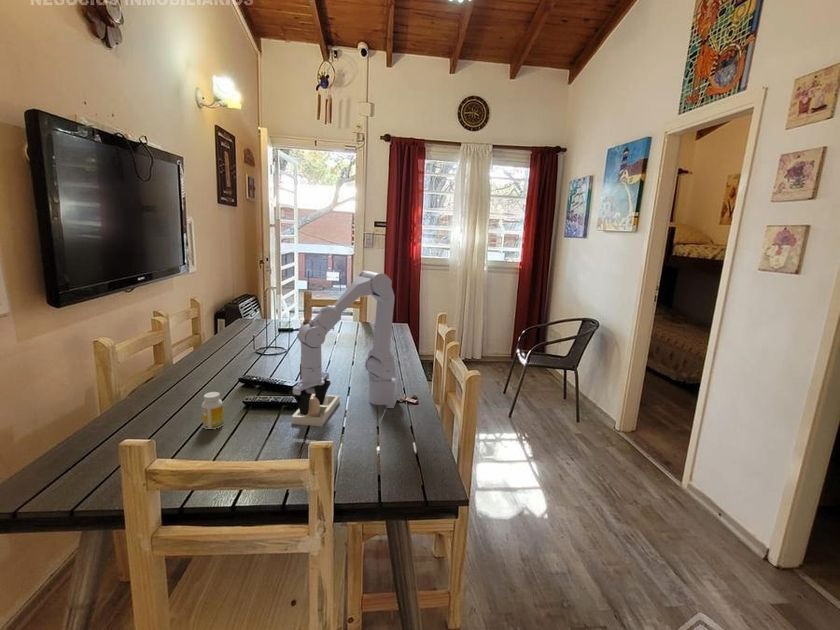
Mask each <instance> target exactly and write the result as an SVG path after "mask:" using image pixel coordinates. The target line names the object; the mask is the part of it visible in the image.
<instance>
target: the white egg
mask: <svg viewBox="0 0 840 630" xmlns="http://www.w3.org/2000/svg"><path fill="white" fill-rule="evenodd" d="M327 395H328V394H326V395H325V399H324V403H323V405H325V406H326V405H327V404H328V396H327Z"/></svg>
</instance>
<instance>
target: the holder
mask: <svg viewBox="0 0 840 630" xmlns="http://www.w3.org/2000/svg"><path fill="white" fill-rule="evenodd" d="M311 394H312V395H311V397H315V393H311ZM326 395H327V396H328V404H327V405H326V406H325V405H320V417H310V416H305V415H303V414H301V413H300V410H299V408H298V409H296V411H295V412H294V413H293V414H292V415H291V424H292V425H300V426H301V425H302V426H311V427H312V426H313V427H314V426H315V427H323V426H324V424H325V423H326V421H327V420H328V419H329V417H330V416H331V415H332V414H333V412H334V411H335V409H336V408H337V406H338V405H339V404H340V395H335V394H334V395H333V394H326Z"/></svg>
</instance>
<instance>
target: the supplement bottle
mask: <svg viewBox="0 0 840 630" xmlns="http://www.w3.org/2000/svg"><path fill="white" fill-rule="evenodd" d="M203 400H204V401H203V402H202V403H201V415H202V417H201V418H202V427H203V429H204V428H205V430H206V429H214V430H217V429H216V428H218V429H220V428H222V427H223V426H224V424H225V421H224V420H225V419H224V403H223V400H222V399H221V394H220V392H219V391H218V392H217V391H210V392H207V393H205V394H204V395H203ZM221 426H222V427H221ZM219 427H220V428H219Z"/></svg>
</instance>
